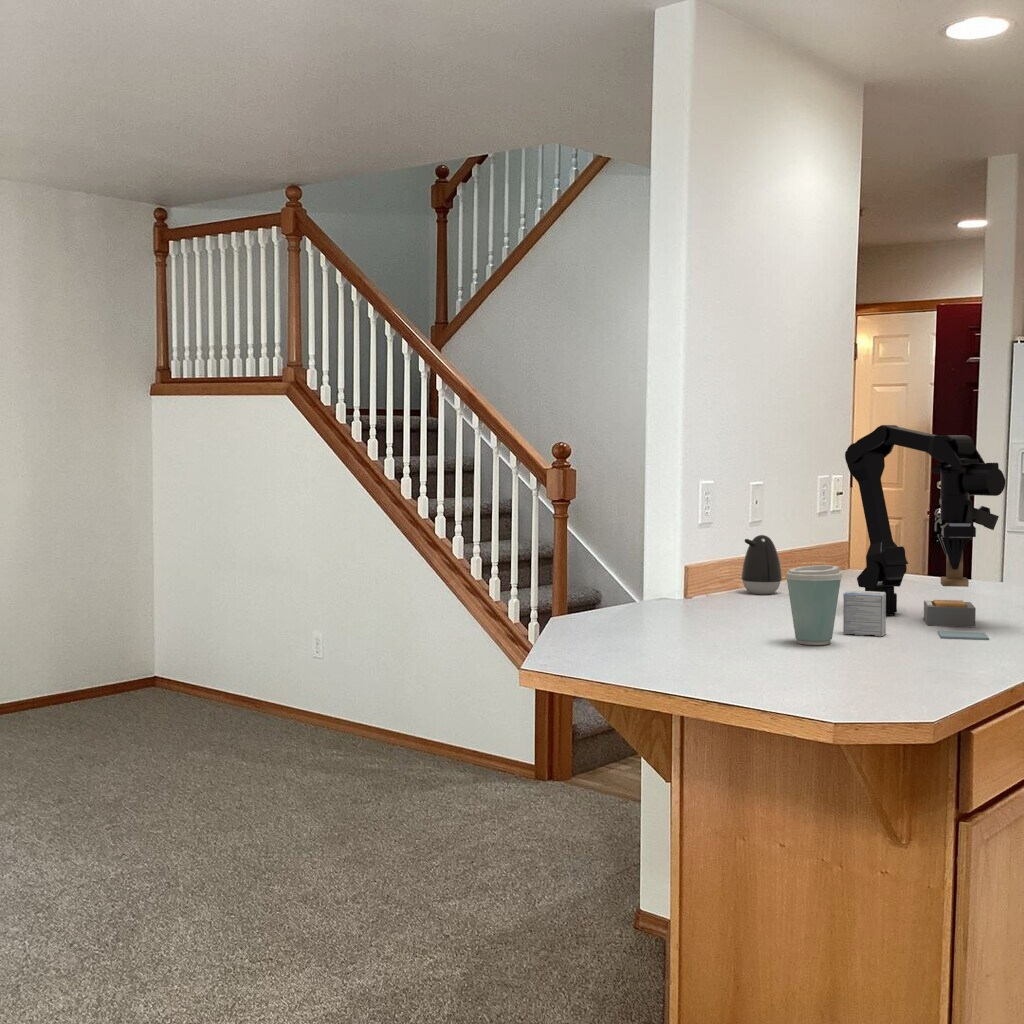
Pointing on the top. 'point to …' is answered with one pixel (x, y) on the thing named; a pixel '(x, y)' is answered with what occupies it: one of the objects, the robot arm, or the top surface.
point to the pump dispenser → (761, 566)
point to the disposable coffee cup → (814, 602)
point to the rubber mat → (963, 635)
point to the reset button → (949, 603)
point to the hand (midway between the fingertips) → (954, 568)
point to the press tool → (954, 575)
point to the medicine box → (864, 613)
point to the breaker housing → (949, 615)
